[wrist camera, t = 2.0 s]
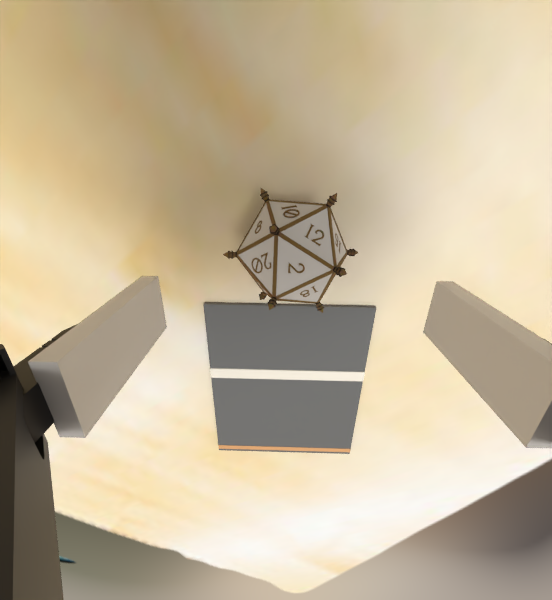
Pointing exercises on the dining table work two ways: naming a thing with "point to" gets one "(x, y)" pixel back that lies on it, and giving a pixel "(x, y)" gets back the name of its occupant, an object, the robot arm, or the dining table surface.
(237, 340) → the lane mat
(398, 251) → the dining table surface
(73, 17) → the dining table surface
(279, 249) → the game die
